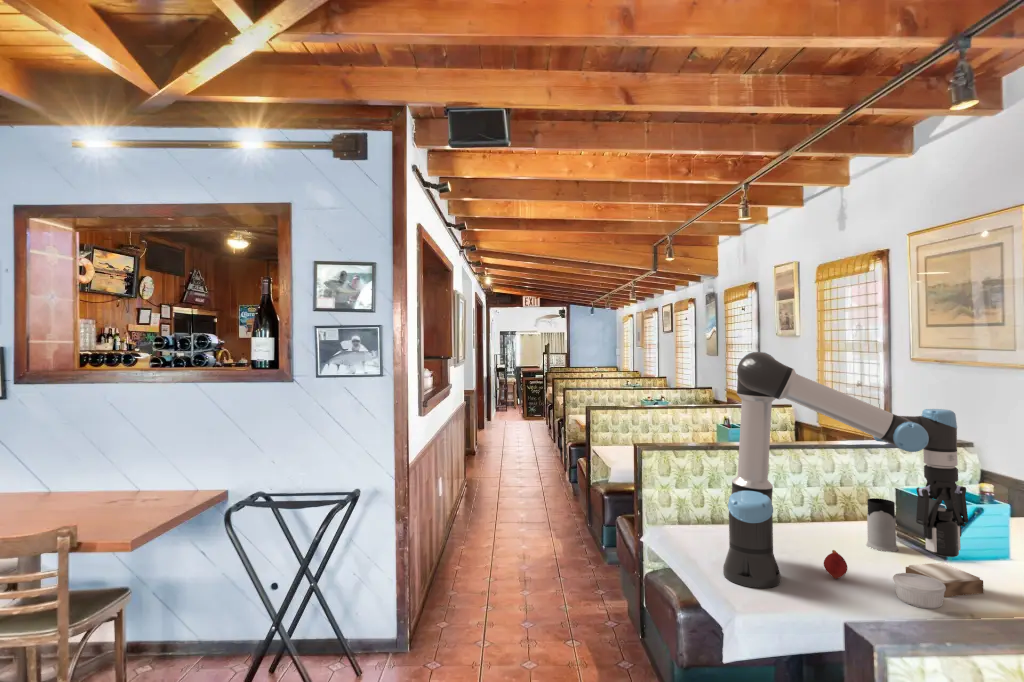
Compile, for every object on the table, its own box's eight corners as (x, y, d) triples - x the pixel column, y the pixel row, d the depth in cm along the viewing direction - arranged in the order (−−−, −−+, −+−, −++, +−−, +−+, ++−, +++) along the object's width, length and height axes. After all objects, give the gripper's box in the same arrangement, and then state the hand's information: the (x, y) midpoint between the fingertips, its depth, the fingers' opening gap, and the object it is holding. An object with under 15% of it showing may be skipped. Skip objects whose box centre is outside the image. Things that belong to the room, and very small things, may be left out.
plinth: (944, 597, 149) (944, 581, 149) (905, 579, 160) (905, 564, 160) (983, 593, 150) (983, 578, 151) (942, 575, 162) (942, 561, 162)
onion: (845, 575, 163) (844, 548, 163) (849, 583, 158) (849, 554, 158) (822, 573, 165) (821, 545, 165) (826, 581, 160) (825, 552, 160)
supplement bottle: (965, 557, 152) (964, 512, 152) (939, 558, 152) (938, 513, 152) (946, 548, 159) (945, 505, 159) (921, 549, 159) (920, 506, 159)
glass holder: (866, 548, 185) (865, 502, 185) (866, 536, 197) (865, 493, 197) (898, 553, 180) (897, 506, 181) (896, 540, 192) (895, 496, 193)
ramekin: (923, 591, 152) (923, 571, 152) (958, 610, 141) (957, 589, 141) (883, 592, 152) (882, 572, 152) (914, 611, 141) (913, 590, 141)
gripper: (921, 470, 151) (923, 557, 150) (984, 466, 154) (987, 551, 153) (897, 464, 158) (900, 547, 158) (958, 461, 161) (961, 542, 161)
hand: (943, 549), depth 156 cm, fingers closed on supplement bottle, 7 cm apart
